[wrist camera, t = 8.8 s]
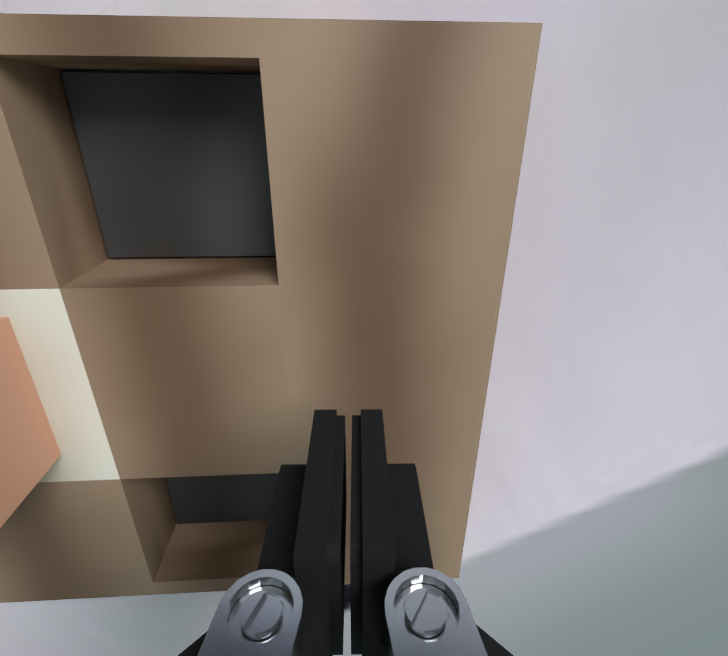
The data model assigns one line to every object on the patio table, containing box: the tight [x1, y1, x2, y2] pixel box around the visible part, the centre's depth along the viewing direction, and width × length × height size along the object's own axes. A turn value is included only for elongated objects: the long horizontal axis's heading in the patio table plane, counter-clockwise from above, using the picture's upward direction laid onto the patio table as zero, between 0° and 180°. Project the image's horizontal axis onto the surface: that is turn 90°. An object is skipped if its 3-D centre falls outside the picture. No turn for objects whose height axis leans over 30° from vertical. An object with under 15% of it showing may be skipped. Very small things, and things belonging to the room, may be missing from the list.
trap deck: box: [0, 13, 542, 603], centre depth 15 cm, size 19×20×3 cm
